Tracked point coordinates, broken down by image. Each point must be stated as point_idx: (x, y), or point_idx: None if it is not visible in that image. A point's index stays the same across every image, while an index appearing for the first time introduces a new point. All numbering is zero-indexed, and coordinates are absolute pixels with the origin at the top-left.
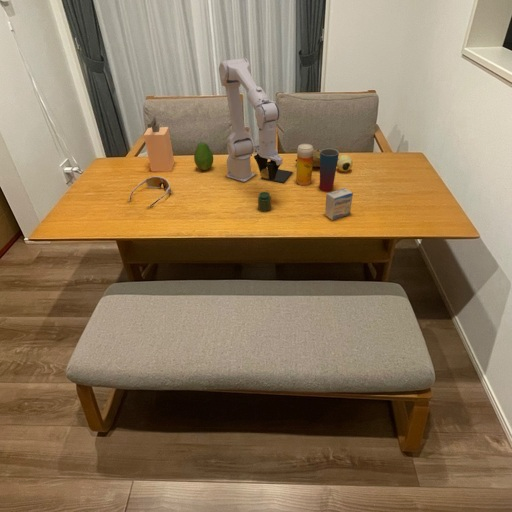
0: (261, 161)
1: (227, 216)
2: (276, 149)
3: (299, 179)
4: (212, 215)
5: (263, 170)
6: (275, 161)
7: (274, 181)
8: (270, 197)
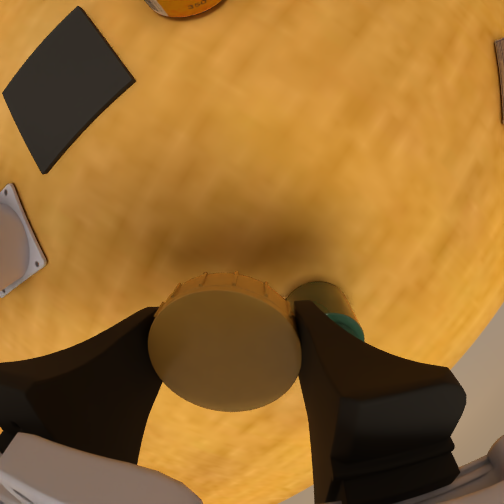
0: (123, 440)
1: (274, 432)
2: (42, 501)
3: (194, 2)
4: (240, 453)
5: (179, 375)
6: (439, 501)
7: (93, 120)
8: (349, 322)
